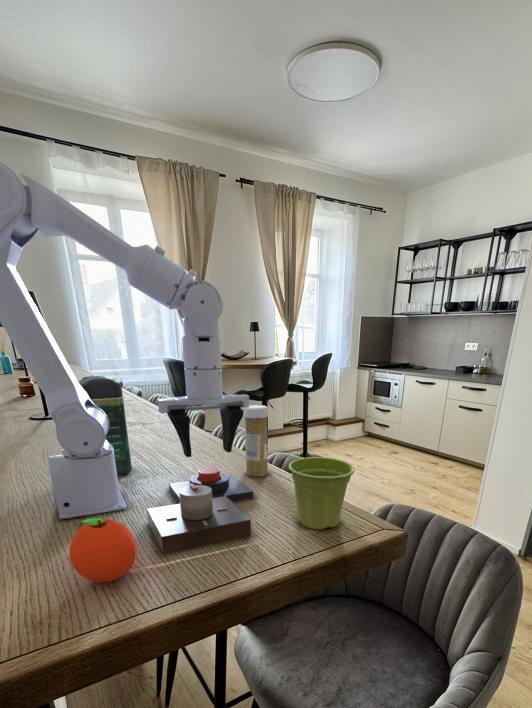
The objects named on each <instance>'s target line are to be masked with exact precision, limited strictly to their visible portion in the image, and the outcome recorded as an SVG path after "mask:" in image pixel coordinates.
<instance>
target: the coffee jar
mask: <svg viewBox="0 0 532 708" xmlns="http://www.w3.org/2000/svg"><path fill="white" fill-rule="evenodd" d="M77 381H78V383H79V384H80V385H81V387H82V388H83V389H84V390H85V391H86V393H87V394H88V396H89V397H90V399H91V401H92V402H93V403H94V404H95V405H96V406H97V407H99V408H100V409H102V410H103V411H104V413H105V414H106V415H107V417H108V420H109V430H108V433H107V434H106V436H105V439H106V440H107V442H108V443H109V444H111V445H112V446H113V450H114V457H115V464H116V471H117V477H120V476H122V475H125V474H130V473H131V472H132V469H133V467H132V459H131V451H130V442H129V435H128V426H127V417H126V410H125V401H124V394H123V388H122V384H121V383H120V382H118V381H115V380H113V379H111V378H107V377H105V376H103V375H102V376H101V375H90V376H83V377H82V378H81V379H80V380H77Z"/></svg>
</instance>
